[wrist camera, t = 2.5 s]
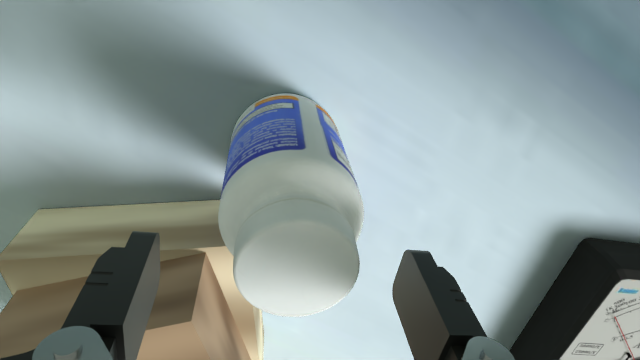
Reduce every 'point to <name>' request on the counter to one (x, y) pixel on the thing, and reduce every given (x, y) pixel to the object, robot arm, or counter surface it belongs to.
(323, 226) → the pill bottle
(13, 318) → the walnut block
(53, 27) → the counter surface
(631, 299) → the multimeter
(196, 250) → the beech block
